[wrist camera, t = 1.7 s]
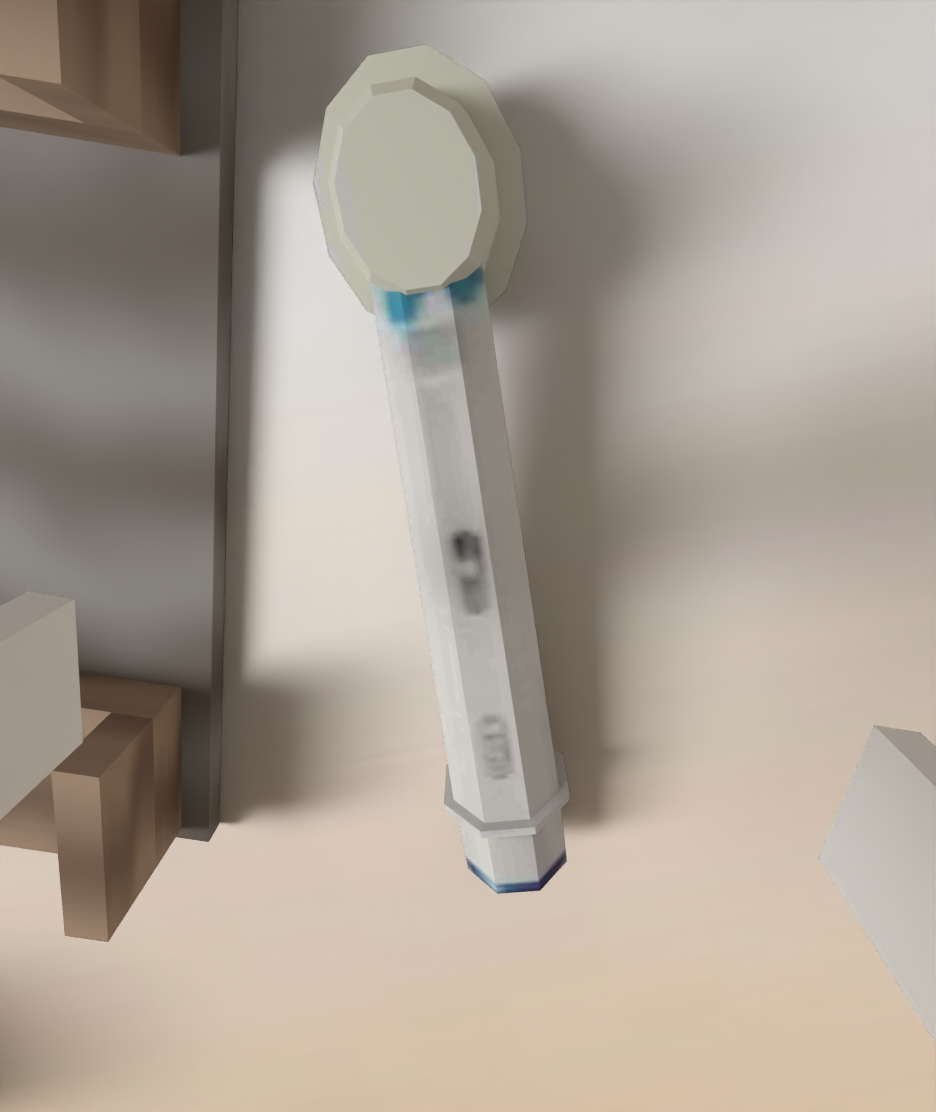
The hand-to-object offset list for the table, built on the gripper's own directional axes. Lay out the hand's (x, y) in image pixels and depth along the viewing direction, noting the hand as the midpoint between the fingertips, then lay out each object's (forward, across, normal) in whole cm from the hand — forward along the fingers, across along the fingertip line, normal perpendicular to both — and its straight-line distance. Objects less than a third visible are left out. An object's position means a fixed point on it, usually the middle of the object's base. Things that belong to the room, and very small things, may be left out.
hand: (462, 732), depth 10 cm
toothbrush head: (+12, 0, 0) cm, 12 cm away
